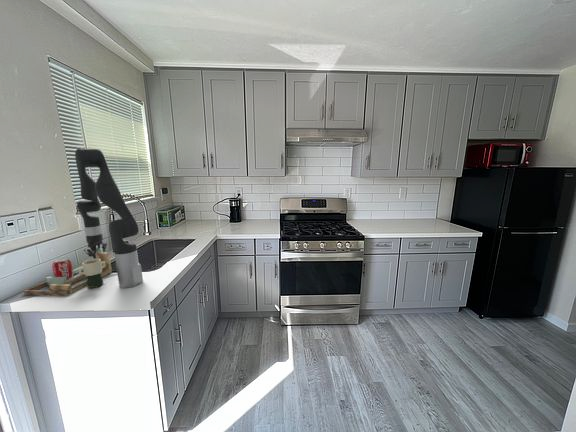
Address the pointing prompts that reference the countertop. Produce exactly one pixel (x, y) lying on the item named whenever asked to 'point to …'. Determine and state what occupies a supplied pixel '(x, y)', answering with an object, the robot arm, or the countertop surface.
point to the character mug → (93, 272)
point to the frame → (35, 291)
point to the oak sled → (83, 276)
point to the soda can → (62, 268)
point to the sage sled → (63, 279)
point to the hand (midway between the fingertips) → (98, 261)
